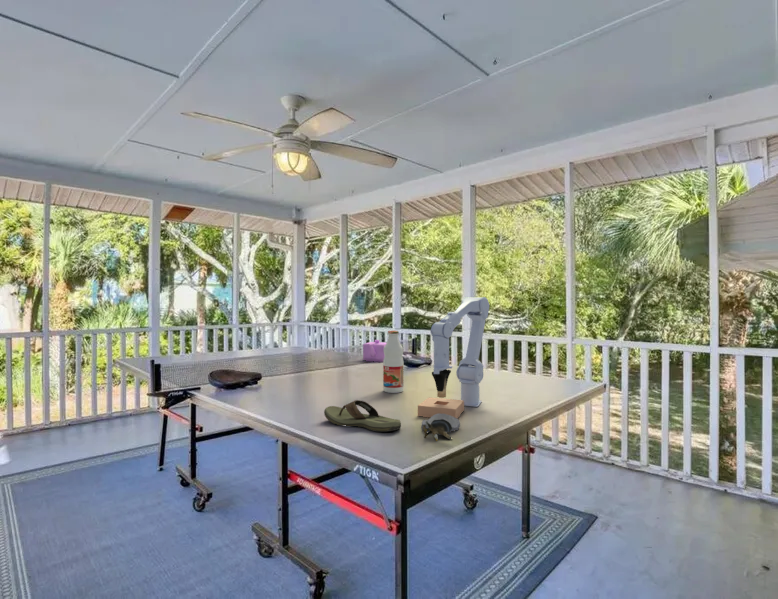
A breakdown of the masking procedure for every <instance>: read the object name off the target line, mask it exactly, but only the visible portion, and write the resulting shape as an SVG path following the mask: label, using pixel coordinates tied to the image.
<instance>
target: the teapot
mask: <svg viewBox="0 0 778 599" xmlns="http://www.w3.org/2000/svg"><path fill="white" fill-rule="evenodd" d="M386 343H387V342H382V341H380V339H374V341H369V342H365V343H363V344H362V348H363V349H362V355H363V357H362V361H363V360H366V361H365V362H373V361H374V362H375V363H383V361H384V357H385V355H384V347H385V345H386ZM374 362H373V363H374Z"/></svg>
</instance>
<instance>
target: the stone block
mask: <svg viewBox="0 0 778 599" xmlns="http://www.w3.org/2000/svg"><path fill="white" fill-rule="evenodd" d="M440 419H444V420H446V421H448V422H449V423H450V424H451V427H452V430H450V433H452V432H451V431H454V430H457V431H458V430H459V429H460V427H461V420H460V419H458V418H455V417H452V416H450V415H447V414H440V413H439V414H435V415H433V416H432V417H431V418H429V419H423V420H421V425H420V426H421V428H420V429H421V430H422V432H423V433H424V431H423V428H422V427H423V426H422V425H426V423H425V421H428V423H429V424H431V423H432V422H433V421H434V420H440ZM426 428H429V427H428V426H427V425H426ZM458 428H459V429H458ZM426 432H429V431H426ZM454 432H455V431H454ZM446 433H447V432H446ZM447 434H448V433H447ZM437 436H442V435H441V434H438V435H437Z"/></svg>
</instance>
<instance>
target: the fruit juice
mask: <svg viewBox="0 0 778 599" xmlns="http://www.w3.org/2000/svg"><path fill="white" fill-rule="evenodd" d="M399 333H400V332H399V330H388V331H387V335H388V338H387V341H386V342H385V343H386V345H385V347H384V355H385V357H384V361H383V362H382V363H383V364H382V365H383V367H382V369H383V372H382V373H383V374H382V375H383V376H382V377H383V379H382V383H383V385H382V386H383V387H382V388H383V392H385V393H389V394H398V393H402V392H403V391H404V364H405V363H404V358H403V354H404V347H403V345H402V344H401V342H400V339H399Z"/></svg>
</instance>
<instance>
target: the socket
mask: <svg viewBox="0 0 778 599" xmlns="http://www.w3.org/2000/svg"><path fill="white" fill-rule="evenodd" d="M463 411H464V412H465V406H464V400H461V399H452V398H440V397H430V396H428V397H427V398H426V399H424V400H423V401H422V402H420V403H419V404H418V405H417V417H419V416H423V417H422V418H428V417H432V416H433V415H435V414H439V413H440V414H447V415H450V416H452V417H455V418H457V419H458V418H460V416H461V415H462V414H463V413H464V412H463ZM462 412H463V413H462ZM461 413H462V414H461ZM460 414H461V415H460Z"/></svg>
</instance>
